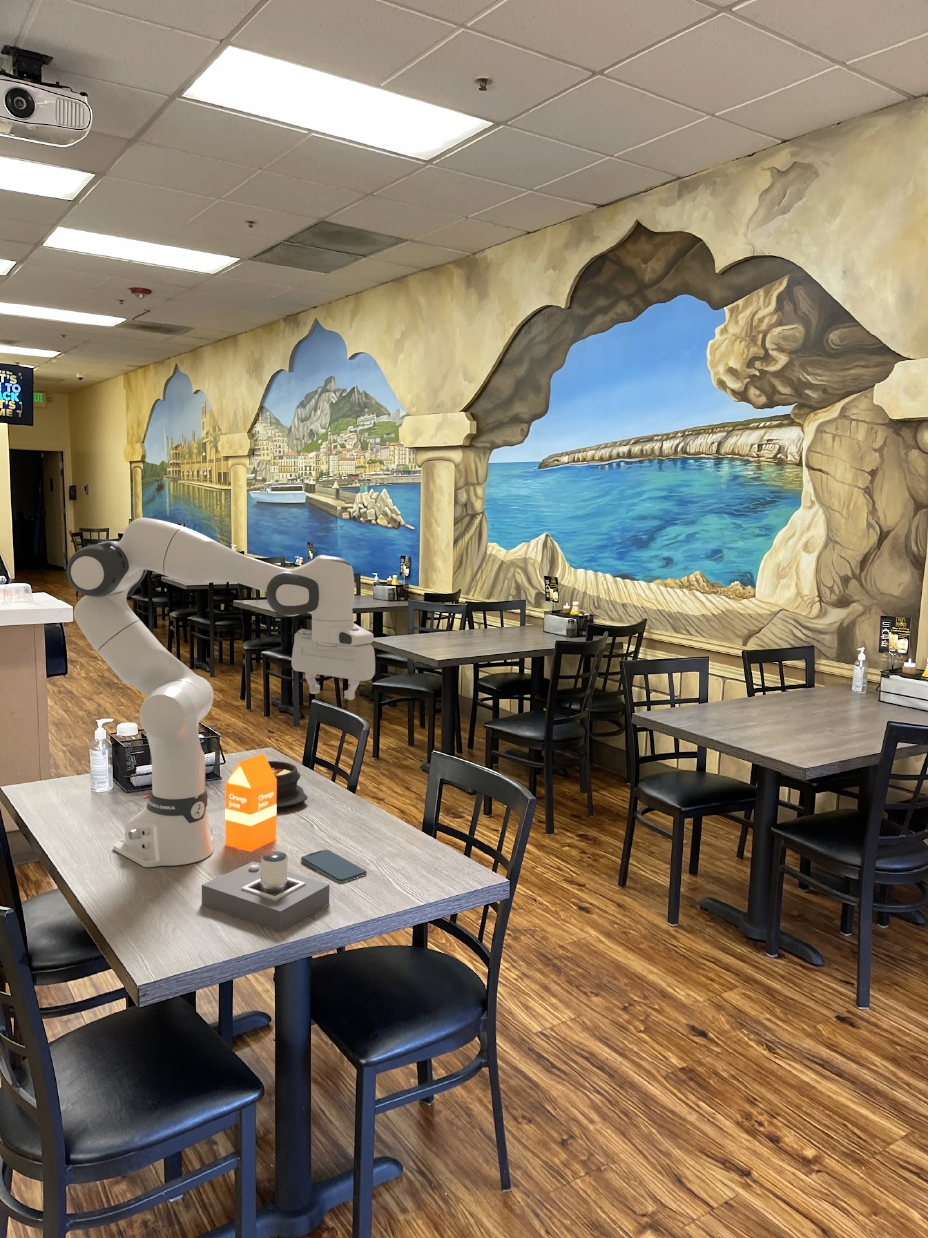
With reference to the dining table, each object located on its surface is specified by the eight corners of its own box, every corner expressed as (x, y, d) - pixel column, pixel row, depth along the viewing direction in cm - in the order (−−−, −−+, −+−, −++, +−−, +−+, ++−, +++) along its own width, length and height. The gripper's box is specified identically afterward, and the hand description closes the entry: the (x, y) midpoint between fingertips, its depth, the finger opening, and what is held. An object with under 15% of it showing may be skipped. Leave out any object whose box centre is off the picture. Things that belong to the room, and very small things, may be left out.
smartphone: (340, 880, 178) (298, 856, 188) (339, 888, 178) (298, 864, 189) (368, 871, 183) (327, 848, 194) (368, 878, 183) (327, 855, 194)
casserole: (212, 794, 232) (212, 764, 231) (272, 781, 245) (272, 752, 244) (262, 819, 214) (262, 786, 213) (324, 804, 227) (324, 773, 226)
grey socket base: (201, 904, 166) (201, 882, 166) (253, 879, 179) (253, 858, 178) (280, 932, 157) (280, 908, 156) (329, 904, 169) (329, 881, 168)
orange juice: (224, 844, 197) (224, 759, 194) (251, 833, 205) (251, 751, 202) (251, 852, 193) (251, 765, 191) (276, 839, 201) (277, 756, 199)
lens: (253, 908, 166) (254, 857, 164) (272, 898, 170) (273, 848, 169) (274, 915, 163) (275, 863, 162) (292, 905, 168) (293, 854, 166)
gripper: (285, 629, 185) (284, 692, 187) (361, 638, 175) (360, 705, 177) (304, 626, 191) (304, 687, 192) (380, 635, 181) (378, 700, 182)
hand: (331, 696), depth 185 cm, fingers open, 8 cm apart
